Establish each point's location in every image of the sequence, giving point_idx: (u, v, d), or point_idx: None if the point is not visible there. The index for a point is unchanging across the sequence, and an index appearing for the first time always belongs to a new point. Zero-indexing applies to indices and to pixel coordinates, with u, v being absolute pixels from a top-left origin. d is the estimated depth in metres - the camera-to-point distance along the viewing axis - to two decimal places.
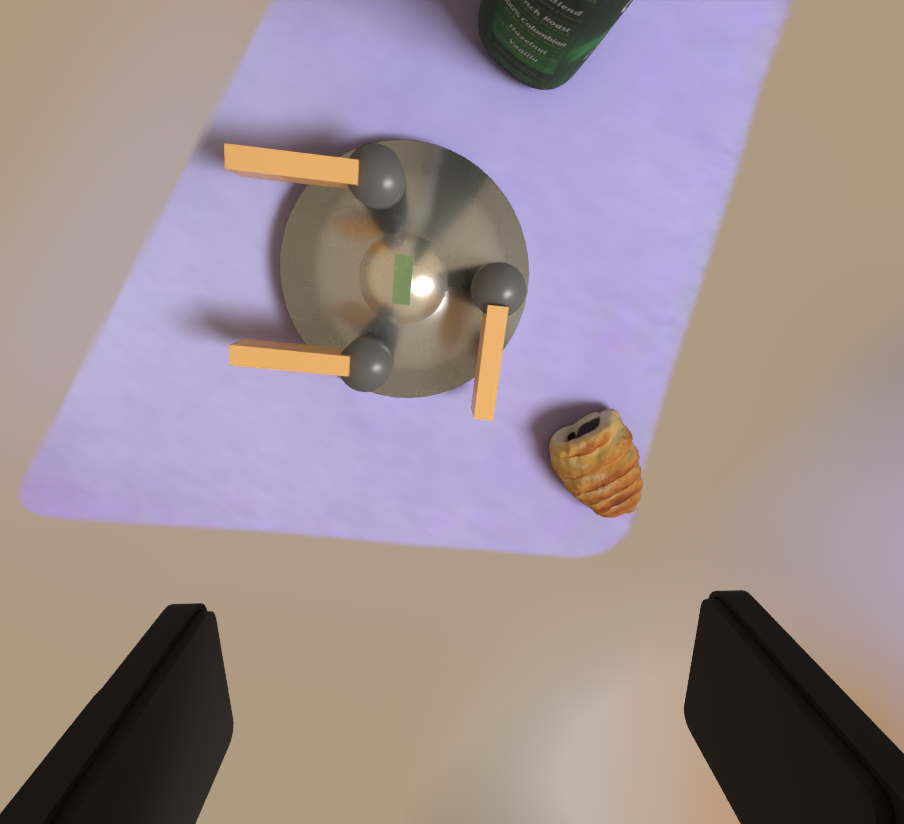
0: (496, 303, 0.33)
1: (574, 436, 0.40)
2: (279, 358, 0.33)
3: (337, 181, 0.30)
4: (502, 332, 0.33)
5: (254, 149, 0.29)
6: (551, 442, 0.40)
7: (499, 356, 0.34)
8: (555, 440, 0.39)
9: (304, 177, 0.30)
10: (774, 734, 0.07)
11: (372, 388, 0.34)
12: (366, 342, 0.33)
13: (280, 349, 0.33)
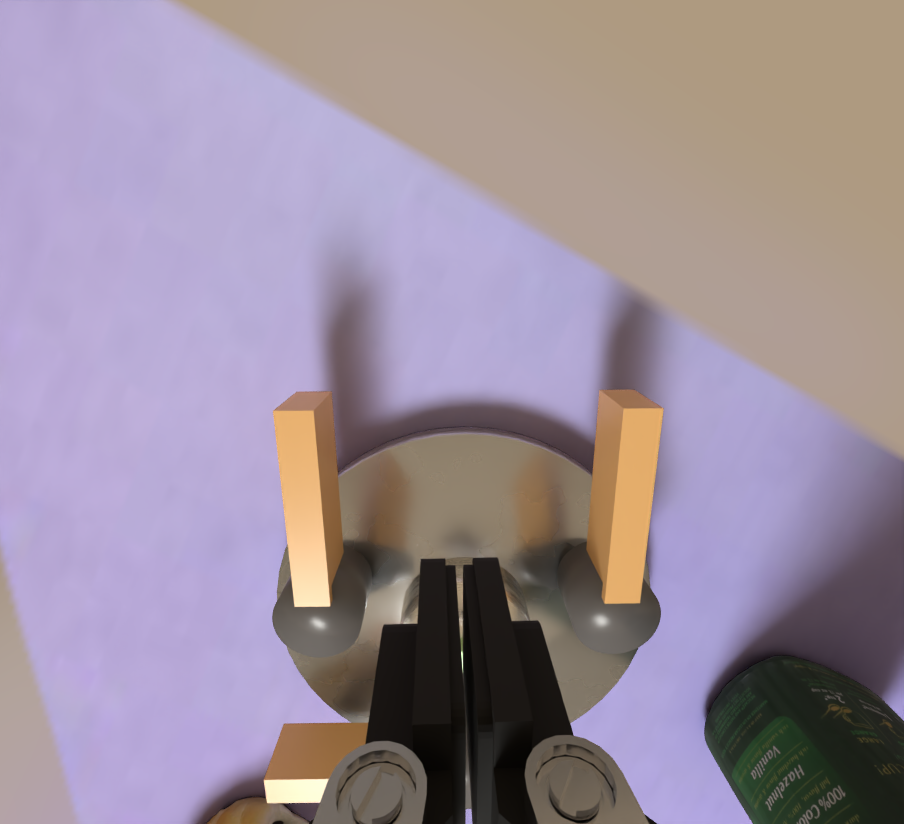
0: None
1: None
2: (304, 497, 0.18)
3: (607, 575, 0.19)
4: None
5: (654, 456, 0.18)
6: (261, 811, 0.27)
7: None
8: (264, 819, 0.27)
9: (612, 530, 0.18)
10: (470, 675, 0.08)
11: (281, 634, 0.20)
12: (359, 622, 0.20)
13: (321, 495, 0.18)
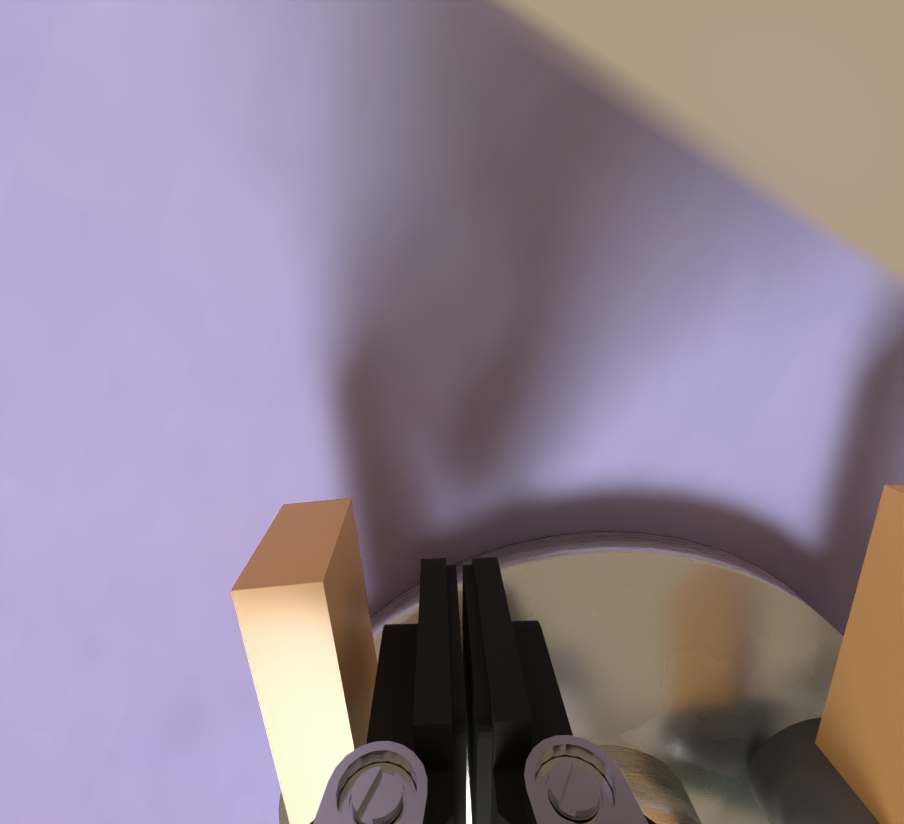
0: None
1: None
2: (318, 749, 0.08)
3: None
4: None
5: None
6: None
7: None
8: None
9: None
10: (469, 675, 0.08)
11: None
12: None
13: (354, 736, 0.09)
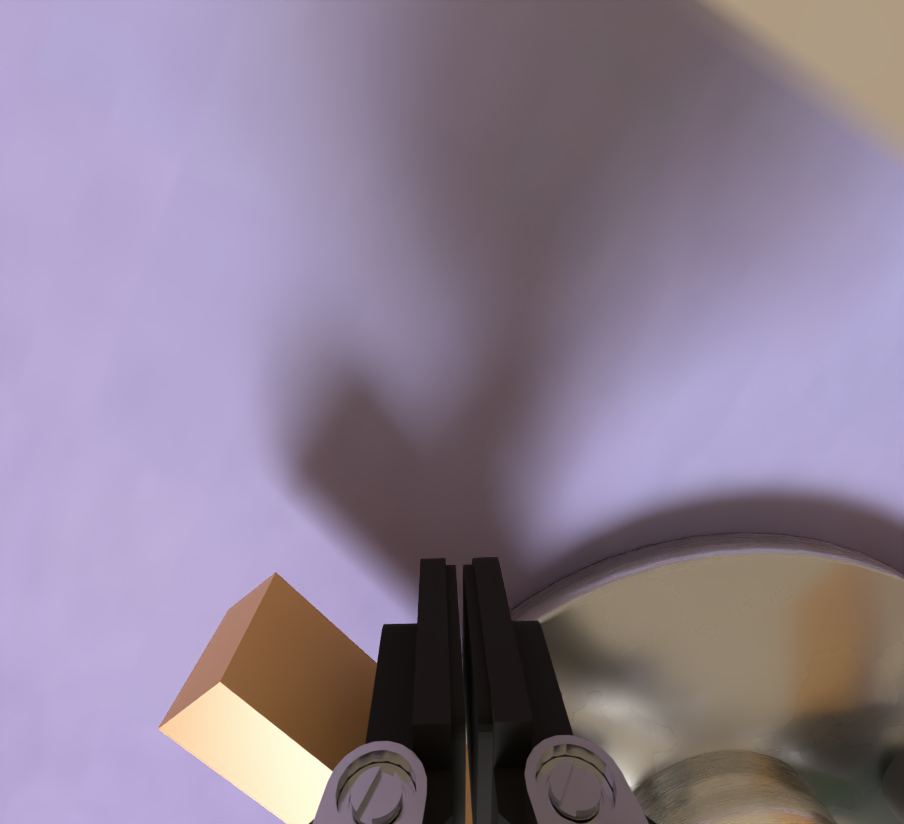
0: None
1: None
2: None
3: None
4: None
5: None
6: None
7: None
8: None
9: None
10: (469, 675, 0.08)
11: None
12: None
13: None
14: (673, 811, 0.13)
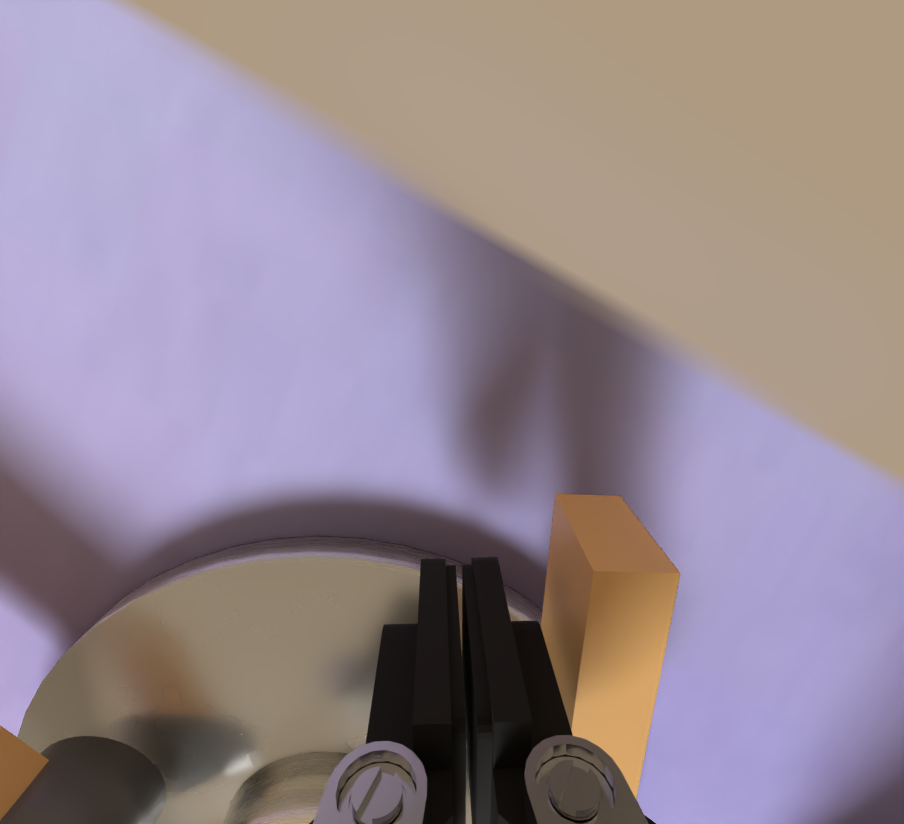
0: None
1: None
2: None
3: None
4: None
5: (654, 665, 0.08)
6: None
7: None
8: None
9: None
10: (469, 675, 0.08)
11: None
12: None
13: None
14: (242, 809, 0.13)
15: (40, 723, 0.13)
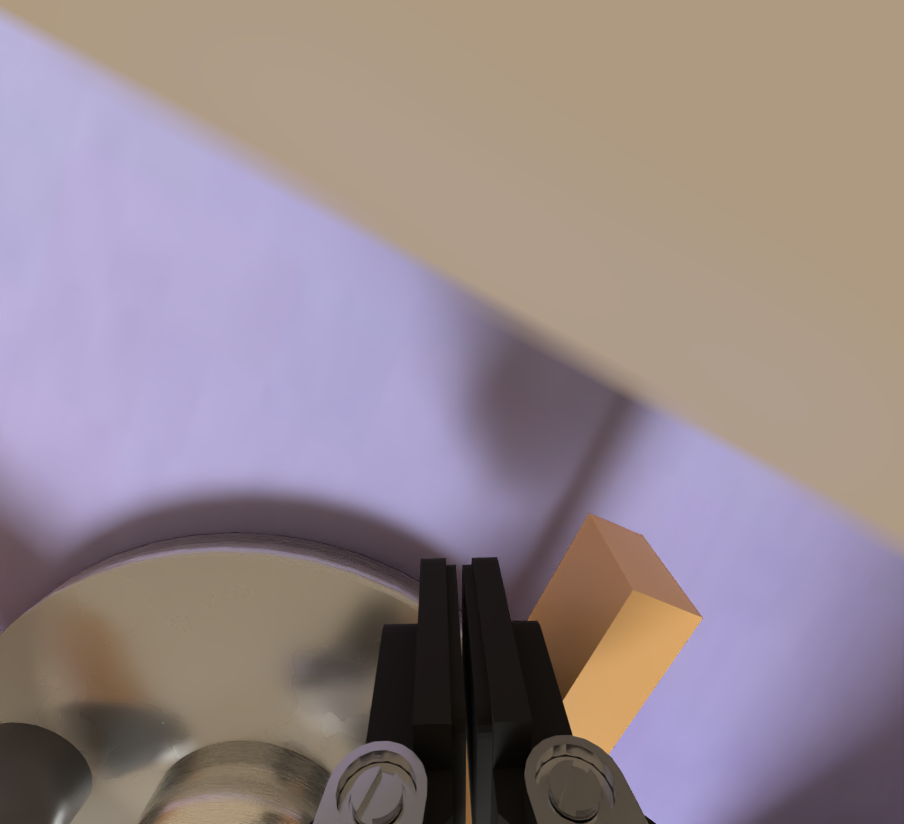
0: None
1: None
2: None
3: None
4: None
5: (644, 691, 0.09)
6: None
7: None
8: None
9: None
10: (469, 675, 0.08)
11: None
12: None
13: None
14: (159, 794, 0.13)
15: None
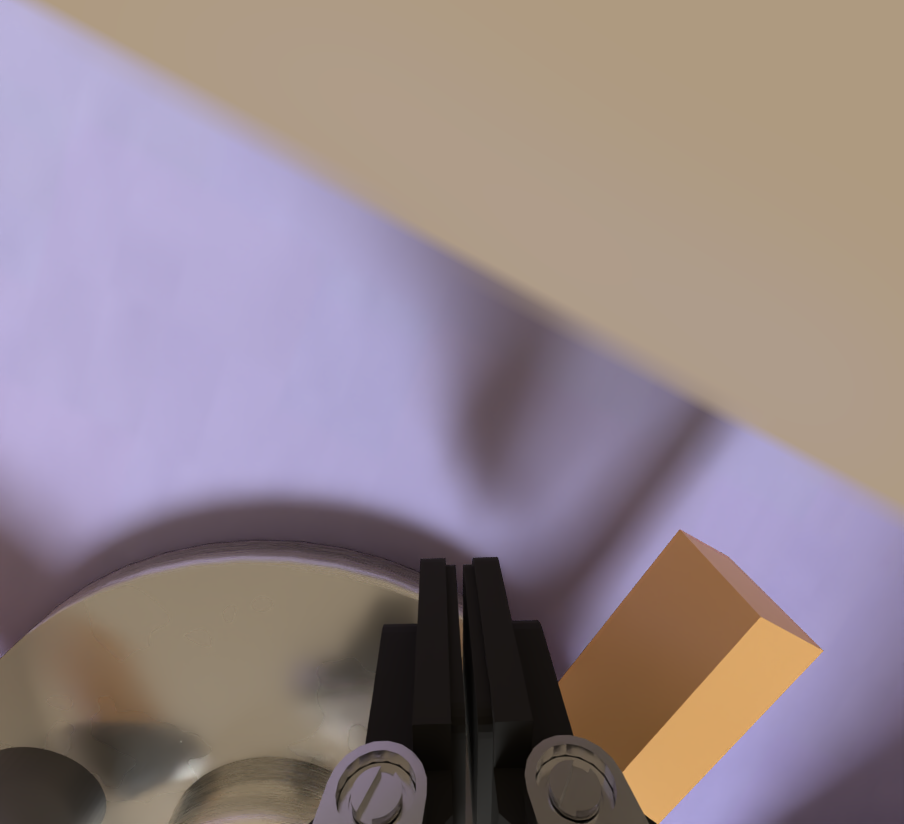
0: None
1: None
2: None
3: None
4: None
5: (748, 720, 0.09)
6: None
7: None
8: None
9: None
10: (470, 675, 0.08)
11: None
12: None
13: None
14: (180, 817, 0.13)
15: None
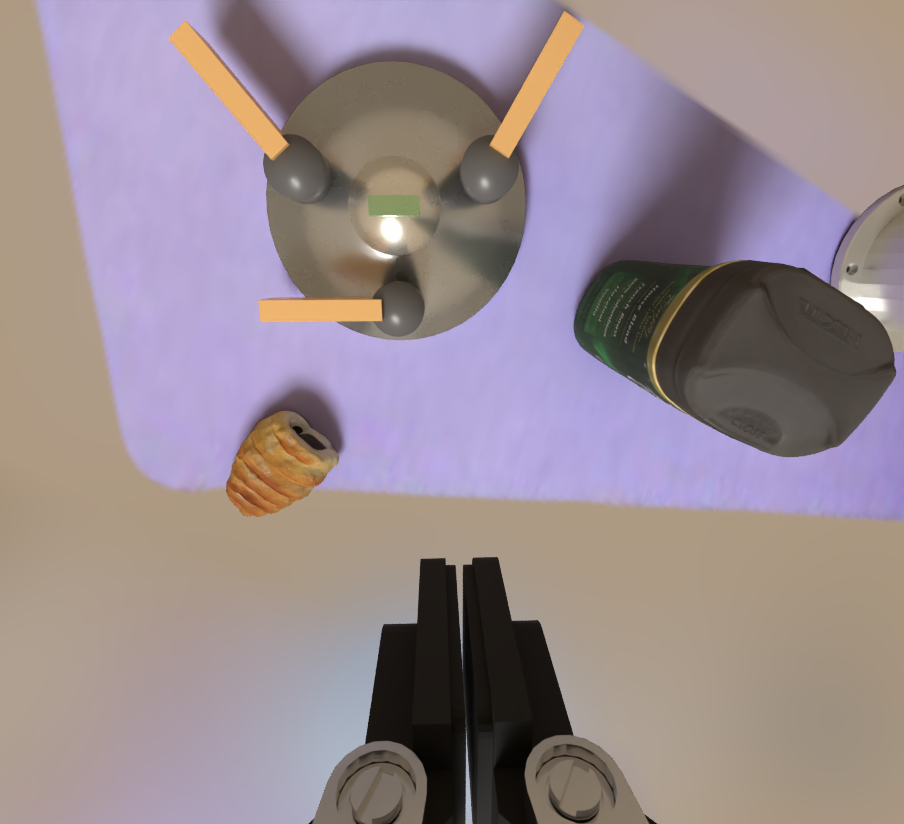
0: (384, 308, 0.33)
1: (298, 432, 0.39)
2: (222, 80, 0.28)
3: (501, 125, 0.30)
4: (356, 318, 0.32)
5: (564, 55, 0.29)
6: (284, 412, 0.38)
7: (331, 318, 0.32)
8: (286, 415, 0.38)
9: (519, 92, 0.29)
10: (470, 675, 0.08)
11: (283, 192, 0.30)
12: (313, 147, 0.30)
13: (230, 74, 0.28)
14: None
15: None
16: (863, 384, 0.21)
